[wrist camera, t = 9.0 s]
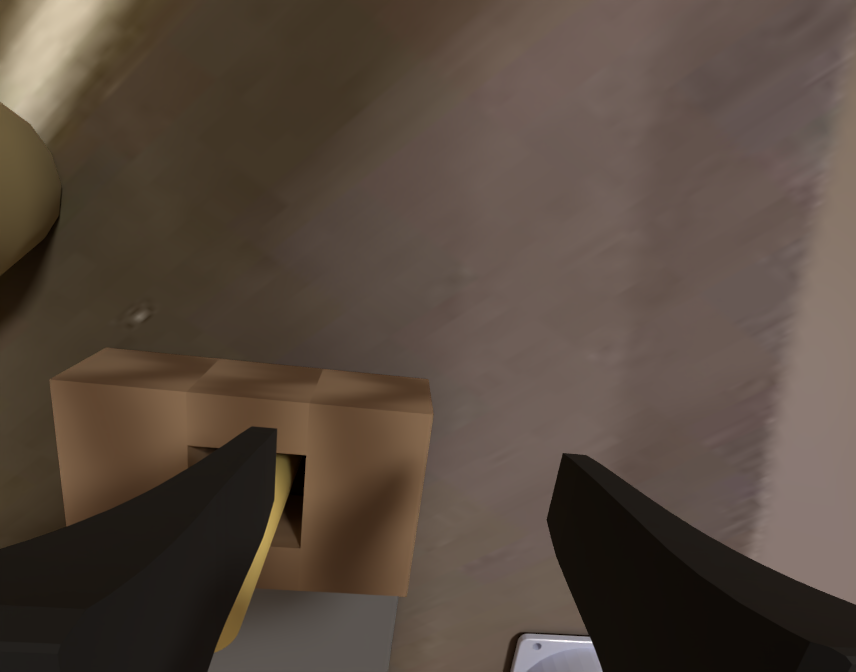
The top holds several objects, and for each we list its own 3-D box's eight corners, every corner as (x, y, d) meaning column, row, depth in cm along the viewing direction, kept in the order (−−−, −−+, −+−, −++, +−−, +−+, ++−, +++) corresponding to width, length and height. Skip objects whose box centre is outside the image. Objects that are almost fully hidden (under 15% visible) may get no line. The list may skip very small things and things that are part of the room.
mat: (402, 564, 25) (402, 568, 25) (382, 701, 28) (382, 707, 28) (204, 551, 24) (202, 556, 24) (206, 695, 27) (203, 701, 27)
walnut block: (428, 379, 22) (433, 414, 19) (405, 540, 25) (406, 596, 21) (105, 347, 21) (49, 379, 17) (118, 521, 23) (72, 578, 20)
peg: (302, 428, 22) (240, 578, 14) (300, 483, 23) (241, 657, 15) (236, 423, 22) (131, 574, 14) (237, 480, 23) (139, 655, 14)
